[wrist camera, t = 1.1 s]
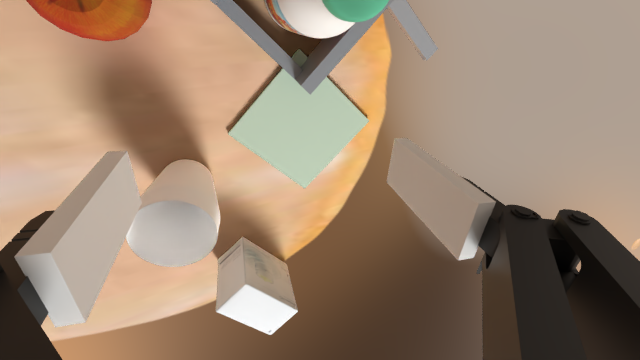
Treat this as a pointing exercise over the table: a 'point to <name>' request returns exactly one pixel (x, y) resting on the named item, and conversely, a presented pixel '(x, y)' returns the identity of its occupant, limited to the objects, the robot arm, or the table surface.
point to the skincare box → (254, 287)
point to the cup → (177, 216)
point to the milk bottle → (322, 15)
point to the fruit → (95, 16)
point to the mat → (298, 125)
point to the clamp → (330, 41)
